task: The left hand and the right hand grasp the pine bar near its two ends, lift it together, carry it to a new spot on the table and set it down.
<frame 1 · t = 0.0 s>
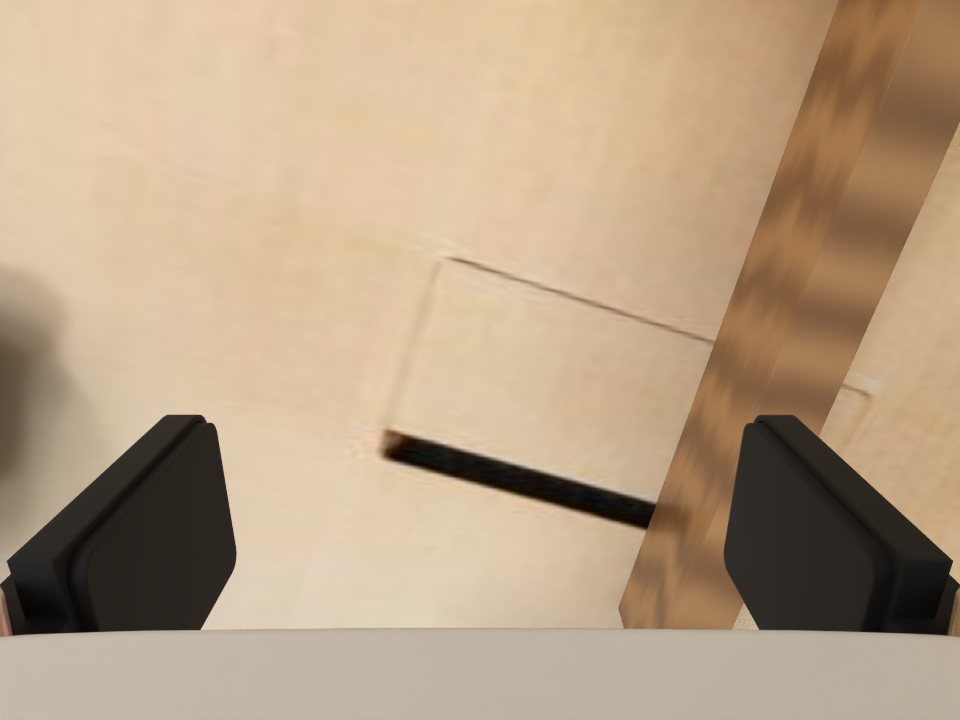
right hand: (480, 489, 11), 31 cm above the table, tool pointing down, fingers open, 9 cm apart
bar: (802, 194, 40), on the table
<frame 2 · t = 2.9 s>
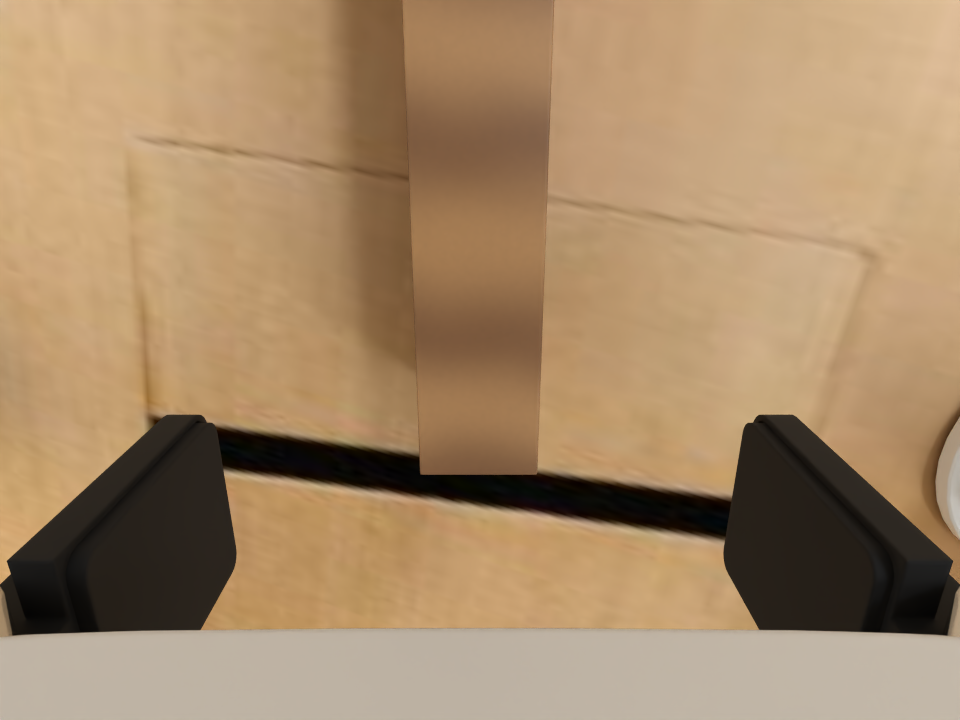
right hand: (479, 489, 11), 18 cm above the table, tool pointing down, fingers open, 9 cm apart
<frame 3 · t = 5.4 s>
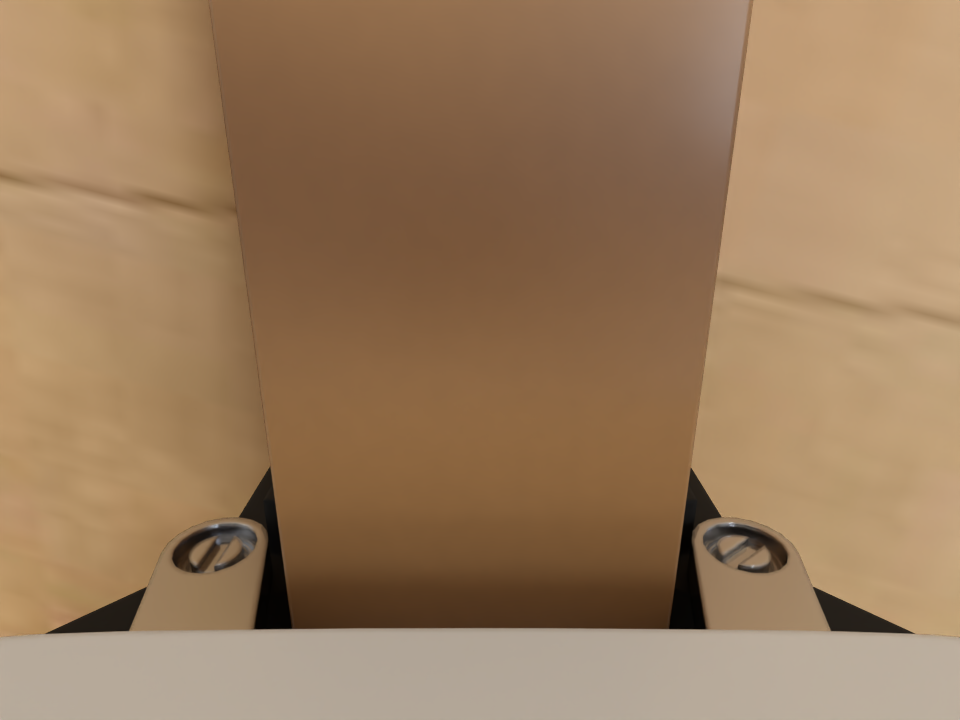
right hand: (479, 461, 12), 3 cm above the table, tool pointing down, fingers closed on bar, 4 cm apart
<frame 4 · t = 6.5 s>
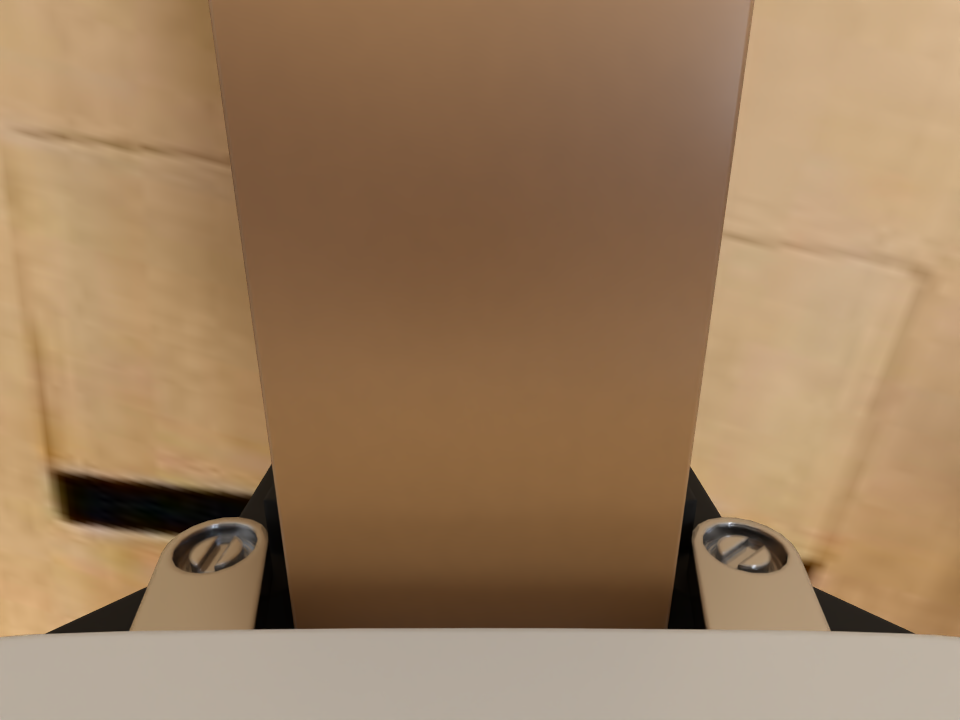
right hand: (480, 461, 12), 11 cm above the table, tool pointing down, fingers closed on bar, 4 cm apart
when the left hand's fingers open (4 cm above the table, at t = 10.2 s): bar stays where it is, on the table.
when the right hand's fingers open (4 cm above the table, at t = 10.2 s): bar stays where it is, on the table.
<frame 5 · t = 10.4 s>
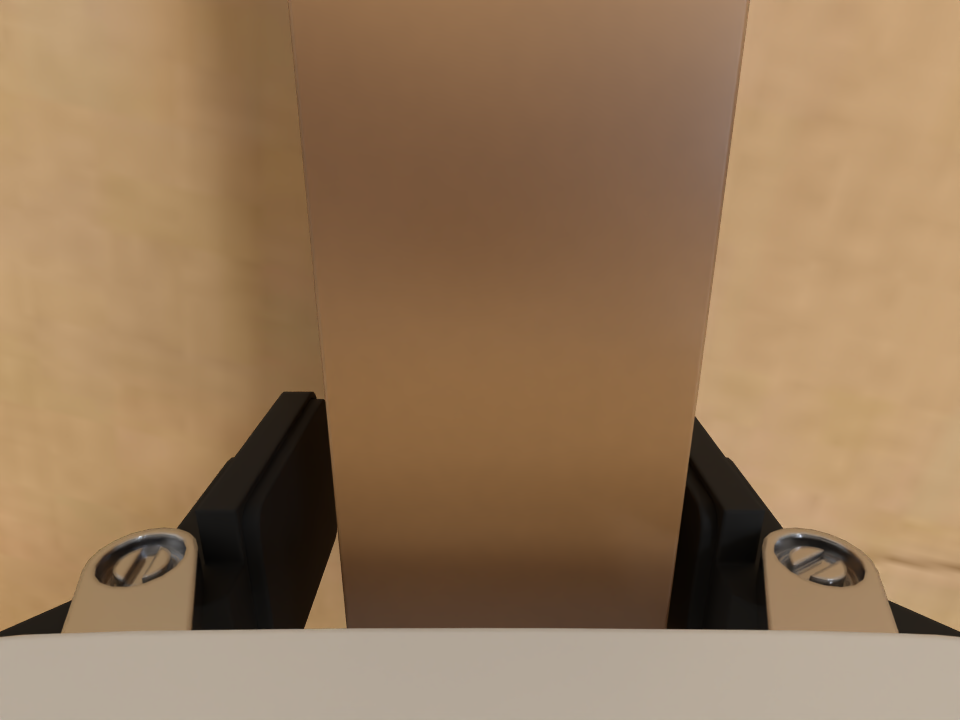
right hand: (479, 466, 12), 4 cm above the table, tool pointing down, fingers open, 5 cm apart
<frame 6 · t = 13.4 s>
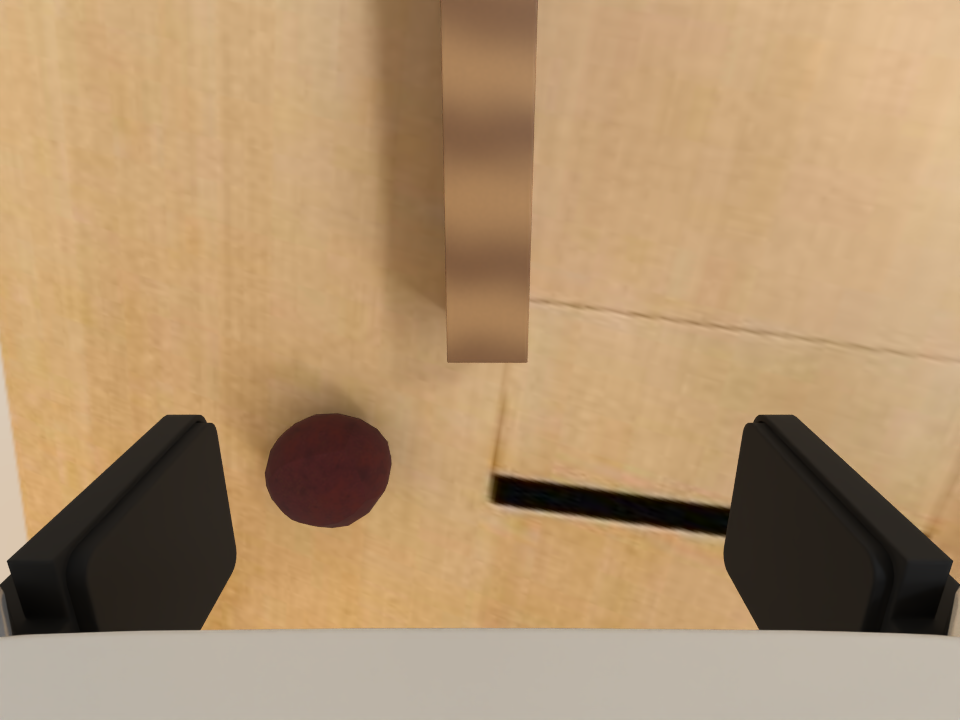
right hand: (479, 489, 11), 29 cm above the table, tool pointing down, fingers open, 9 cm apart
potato: (343, 442, 43), on the table
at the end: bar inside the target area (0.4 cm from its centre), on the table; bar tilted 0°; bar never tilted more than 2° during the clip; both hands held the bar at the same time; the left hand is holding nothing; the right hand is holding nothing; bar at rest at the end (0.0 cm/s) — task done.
